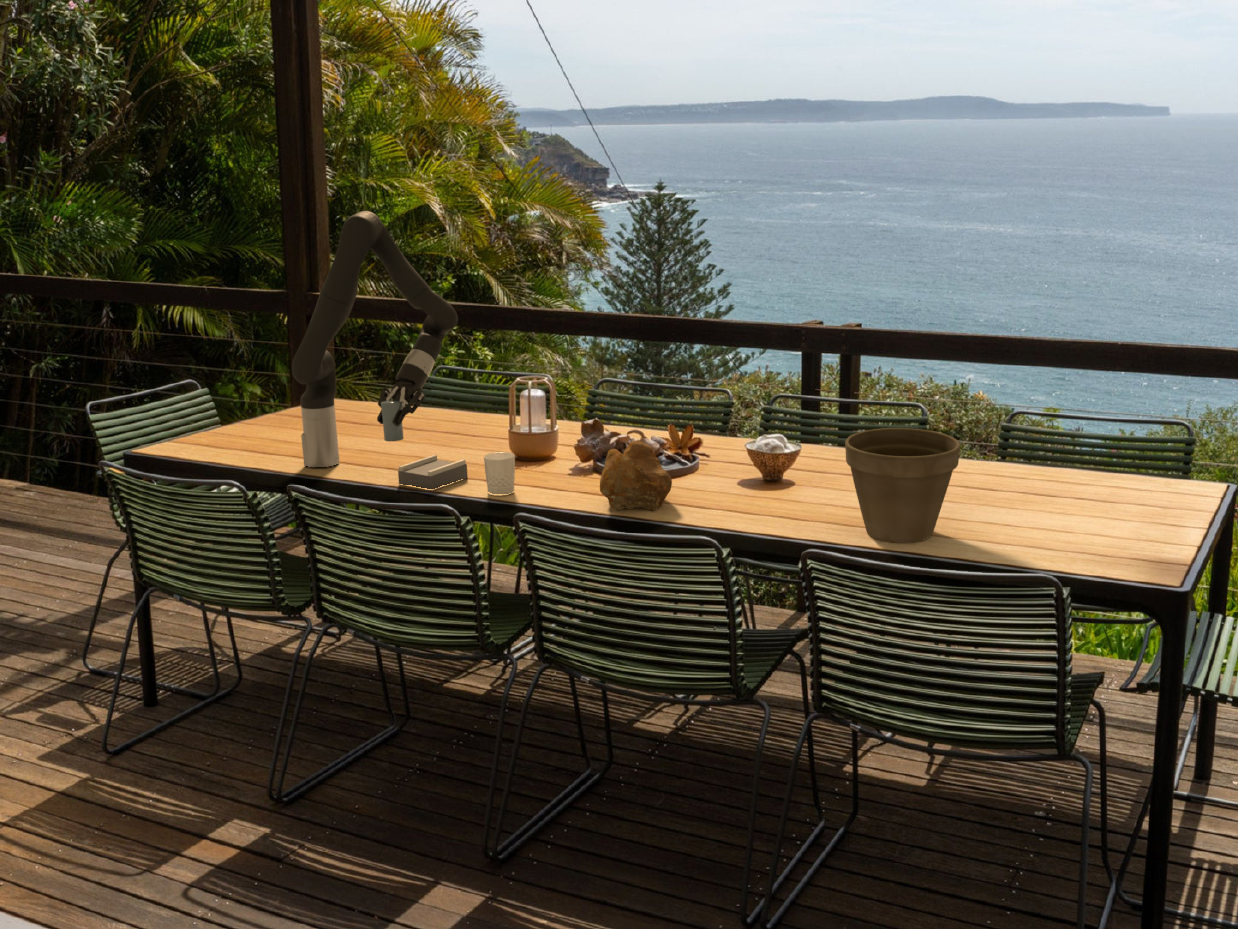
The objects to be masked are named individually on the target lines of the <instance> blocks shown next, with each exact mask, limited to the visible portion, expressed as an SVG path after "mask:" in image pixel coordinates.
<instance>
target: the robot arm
mask: <svg viewBox="0 0 1238 929" xmlns="http://www.w3.org/2000/svg"><path fill="white" fill-rule="evenodd" d="M369 250H371V252H372V253H373V254H374V255H375V256H376V257H377V258H378V259H379V260H380V262H381V263H382V264H383V266H384V268H385V269H386V271H387V273H388V275H389V277H390V279H391V281H392V283H393V284H394V287H395V288H396V289H397V290H398V292H399V293H400V294H401V295H402V296H403V297H404V299H405V300H406V301H407V302H408V303H409V305H410V306H411V307H413V309H416V310H422V311H423V312H424V313H425V314H426V315H427V317H426V318H425V320H424V321H423V324H422V326H421V329H420V330H419V331H420V332H419V335H418V338H417V339H416V340H415V342H414V344H413V345H412V348H411V350H410V352H408V354H407V356H406V357H405V359H404V361H403V362H402V364H401V367H400V368H399V371H398V372H397V373H396V376H395V383H394V384H393V386H392V387H390V388H387V387H386V386H383V388H382V390H381V392H380V396H379V398H378V402H377V406H378V407H379V408H381V402H383V401H388V400H399V401H400V410H398V412H397V413H396V415H395V417H394V419H393V421H392V422H393V424H394V425H395V426H399V425H400V424H401V423H402V424H403V420H404V419H405V417H406V416H407V415H409V414H411V415H412V414H414V413H415V411H416V410H417V409H418V407H419V406H420V405H421V404H422V402H423V401H424V400H425V398H426V395H425V394H424V393H423V392H422V391H423V390H422V389H423V388H424V386H425V385H426V382H427V380H428V378H429V377H430V375H431V372H432V370H433V368H434V365H435V362H436V361H437V359H438V357H439V355H440V353H441V351H442V347H443V346H442V345H443V344H442V343H443V342H444V339H445V337H446V336H447V334H448V333H449V332H450V331H452V330H453V329H455V328H456V326H457V325H458V323H459V317H458V314H457V311H456V310H455V308H454V307H453V306H452V305H451V304H450V303H449V302H448V301H447V300H445V299H444V298H443V297H442V296H441V295H439V294H438V293H436V292H435V291H433V289H432V288H431V287H430V285H428V283H427V282H426V281H425V280H424V278H422V276H421V275H420V274H419V273H418V272H417V271H416V269H415V268H414V267H413V266H412V265H411V262H409V261H408V259H407V258H406V257H405V255H404V254H403V253H402V251H401V250H400V248H399V247H398V246H397V244H396V242H395V241H394V240H393V238H392V236H391V234H390V233H389V231H388V230H387V228H386V226H385V225H384V223H383V222H382V220H381V219H380V217H379V216H378V215H377V214H376V213H374V212H372V211H368V210H362V211H359V212H357V213H354V214H352V215H351V216H349V217H347V219H346V220H345V221H344V223H343V226H342V227H341V231H340V235H339V241H338V245H337V248H336V253H335V256H334V258H333V262H332V264H331V266H330V268H329V270H328V272H327V275H326V278H325V280H324V283H323V285H322V287H321V289H320V292H319V296H318V298H317V301H316V304H315V308H314V311H313V313H312V316H311V317H310V318H311V319H310V321H309V324H308V326H307V330H306V332H305V334H304V336H303V339H302V341H301V343H300V345H299V347H298V348H297V351H296V352H295V355H294V357H293V359H292V362H291V371H292V372H291V373H292V375H293V378H294V379H295V381H296V382H298V384H301V385H306V389H305V391H304V393H303V394H301V397H300V411H301V420H302V421H301V422H302V431H303V432H302V434H301V436H300V437H301V444H302V446H301V447H302V456H303V467H304V466H308V467H307V468H310V467H327V468H329V467H328V466H332V467H334V466H333V465H336V464H338V463H339V464H340V453H339V443H338V442H339V441H338V429H337V417H336V408H335V406H336V405H335V397H336V394H337V377H336V375H337V374H336V373H337V372H336V365H335V360H334V357H333V356H332V354H331V353H330V352H329V351H328V347H329V345H330V344H331V342H332V340H333V339H334V338H335V336H336V335H337V334H338V332H339V331H340V330H341V328H342V327H343V326H344V324H345V323H346V321H347V320H348V318H349V316H350V315H351V312H352V309H353V307H354V303H355V301H356V298H357V294H358V290H359V289H358V287H359V286H358V285H359V275H360V271H361V267H362V265H363V264H364V260H365V258H366V256H367V254H368V252H369ZM376 420H377V422H378V423H379V425H383V420H382V409H380V412H379V413H378V415H377V417H376ZM339 464H338V465H339ZM336 466H337V465H336Z"/></svg>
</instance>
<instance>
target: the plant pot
mask: <svg viewBox="0 0 1238 929" xmlns="http://www.w3.org/2000/svg"><path fill="white" fill-rule="evenodd" d="M844 445H845V462H846V464H847V465H848V466H849V467H850V471H851V476H852V480H853V484H854V488H855V492H856V496H857V501H858V505H859V508H860V512H861V513H860V514H861V516H862V520H863V523H864V527H865V531H866V534H867V535H869V537H871V538H874V539H876V540H879V541H883V542H888V543H896V544H909V543H912V544H913V543H919V542H924V541H926V540H928V539H929V538H931V537H932V535H933V534H934V531H935V528H936V526H937V521H938V518H939V515H940V512H941V510H942V506H943V503H944V500H945V497H946V494H947V491H948V489H949V484H950V481H951V479H952V474H953V471H955V469H957V467H958V466H959V462H960V461H959V460H960V452H961V442H960V441H959V440H958V439H956V438H955V437H953V436H951V435H949V434H946V433H942V432H938V431H934V430H927V429H921V428H920V429H919V428H905V427H887V428H884V427H883V428H875V429H869V430H868V429H867V430H863V431H858V432H856V433H853V434H851V435H849V436H848V437H847V438H846V439H845V444H844Z"/></svg>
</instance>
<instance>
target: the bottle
mask: <svg viewBox="0 0 1238 929" xmlns="http://www.w3.org/2000/svg"><path fill="white" fill-rule="evenodd" d="M380 408H381V409H382V420H383V424H382V427H383V428H382V429H383V439H384V441H386V442H399V441H402V440H404V427H403V422H402V423H401V424H400V425H399V426H395V425H394V424H393V422H392V421H393V419H394V417H395V415H396V413H397V412H398V410H400V401H399V400H393V399H392V400H388V401H383V402H381V407H380ZM381 409H380V410H381Z"/></svg>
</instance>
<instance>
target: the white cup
mask: <svg viewBox="0 0 1238 929" xmlns="http://www.w3.org/2000/svg"><path fill="white" fill-rule="evenodd" d="M515 457H516V456H515V454H514V453H513V452H508V451H498V452H496V451H495V452H490V453H486V454H485V455H483V463H484V473H485V480H486V481H485V482H486V486H487V493H488V492H490V493H492V494H509V493H512V492H513V491H514V492H515V471H516V470H515V468H516V467H515V466H516V465H515V461H516V460H515V459H516V458H515Z"/></svg>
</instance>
